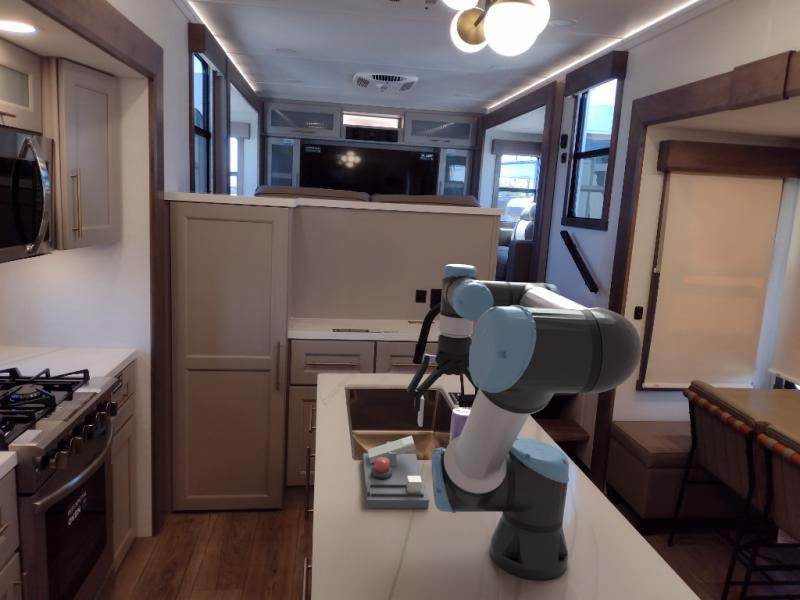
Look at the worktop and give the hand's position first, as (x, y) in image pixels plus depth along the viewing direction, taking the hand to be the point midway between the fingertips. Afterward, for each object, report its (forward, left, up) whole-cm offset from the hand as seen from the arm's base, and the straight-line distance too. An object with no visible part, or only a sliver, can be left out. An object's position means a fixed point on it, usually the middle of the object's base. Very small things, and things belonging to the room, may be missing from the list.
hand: (448, 425), depth 133 cm
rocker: (+16, +11, -13) cm, 24 cm away
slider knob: (0, +7, -16) cm, 18 cm away
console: (+8, +11, -18) cm, 23 cm away
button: (+8, +14, -15) cm, 22 cm away
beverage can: (+18, -7, -19) cm, 27 cm away
